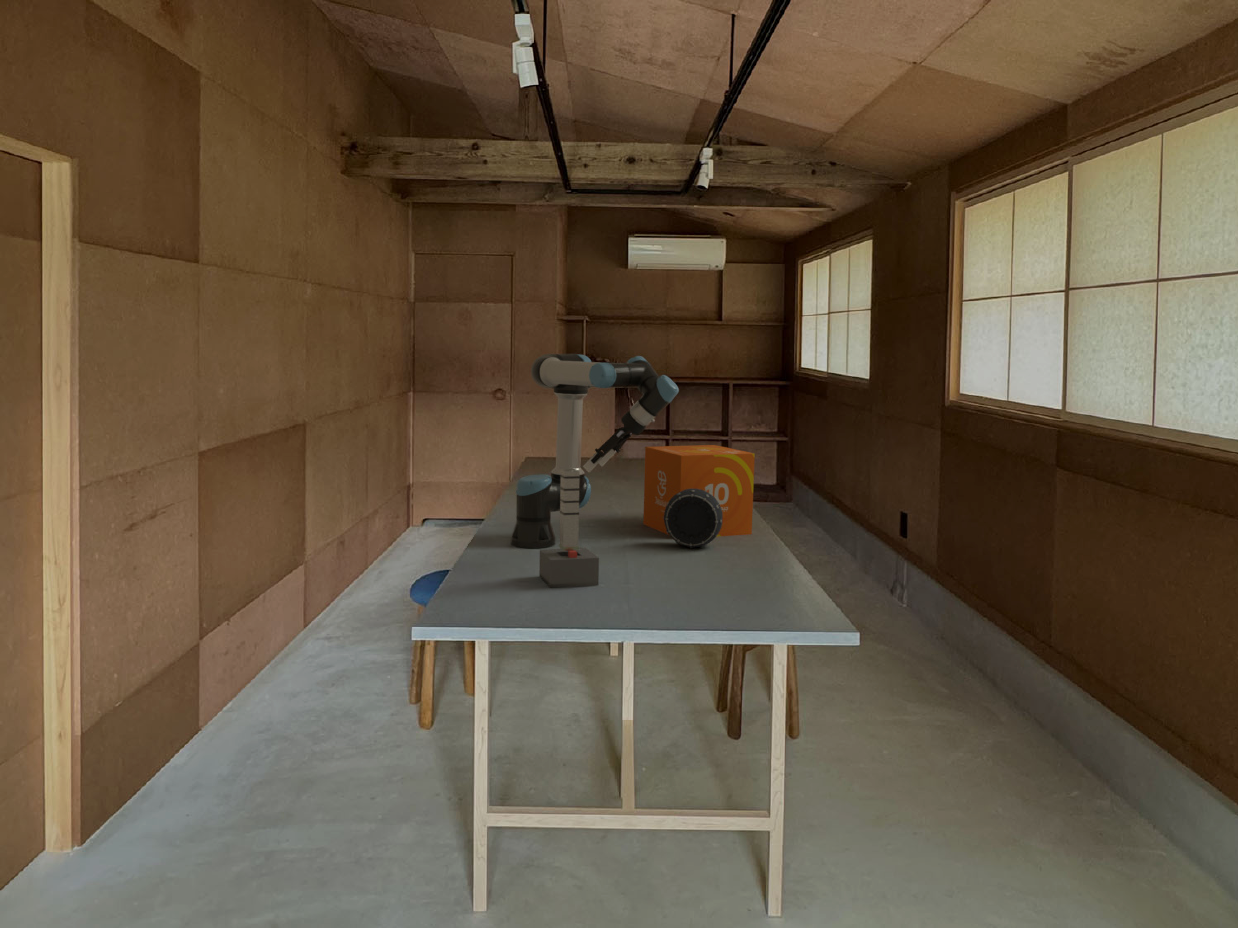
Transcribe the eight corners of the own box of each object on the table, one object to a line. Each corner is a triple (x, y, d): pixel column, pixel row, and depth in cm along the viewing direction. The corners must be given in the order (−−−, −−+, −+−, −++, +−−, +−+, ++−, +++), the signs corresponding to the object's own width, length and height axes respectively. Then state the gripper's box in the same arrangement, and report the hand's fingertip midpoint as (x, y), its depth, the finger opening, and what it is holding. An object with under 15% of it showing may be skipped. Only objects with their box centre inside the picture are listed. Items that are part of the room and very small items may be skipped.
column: (563, 551, 278) (564, 471, 275) (559, 547, 282) (560, 469, 279) (578, 550, 279) (580, 471, 276) (574, 546, 283) (575, 468, 281)
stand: (550, 587, 273) (551, 554, 272) (539, 576, 286) (539, 544, 285) (598, 585, 277) (599, 552, 276) (585, 573, 290) (585, 542, 289)
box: (678, 539, 345) (681, 455, 341) (643, 524, 372) (645, 446, 369) (751, 534, 357) (754, 453, 353) (712, 520, 384) (714, 444, 381)
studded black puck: (720, 551, 326) (722, 492, 323) (661, 547, 330) (662, 489, 327) (723, 545, 336) (725, 488, 334) (666, 541, 340) (667, 485, 338)
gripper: (636, 431, 285) (589, 480, 291) (656, 423, 309) (612, 469, 315) (618, 413, 286) (571, 463, 292) (639, 406, 310) (596, 453, 316)
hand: (592, 466), depth 304 cm, fingers open, 13 cm apart
